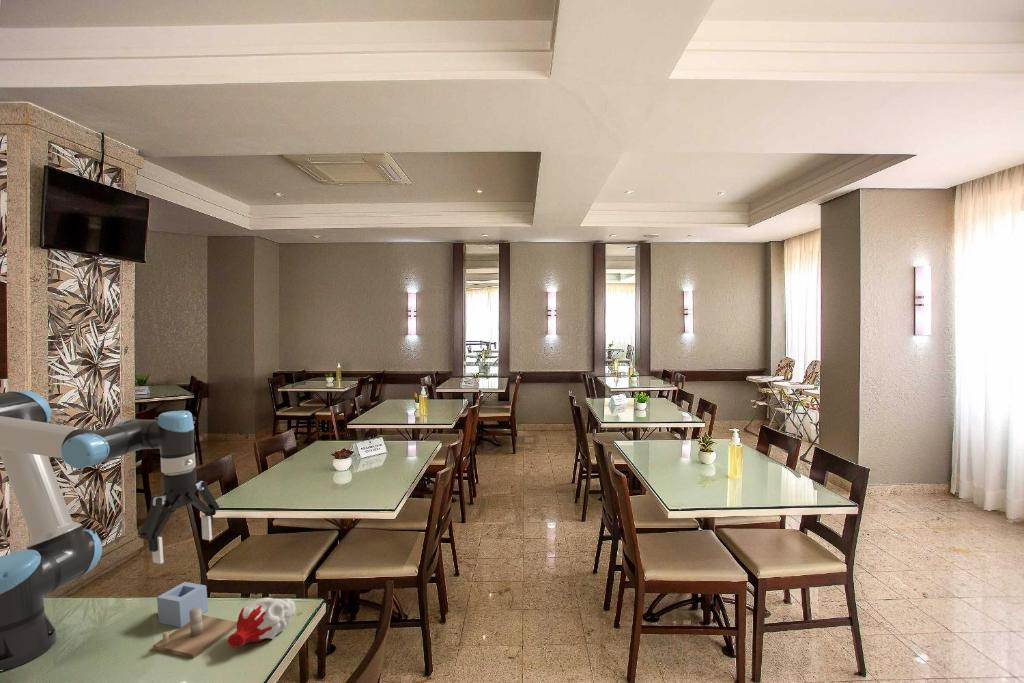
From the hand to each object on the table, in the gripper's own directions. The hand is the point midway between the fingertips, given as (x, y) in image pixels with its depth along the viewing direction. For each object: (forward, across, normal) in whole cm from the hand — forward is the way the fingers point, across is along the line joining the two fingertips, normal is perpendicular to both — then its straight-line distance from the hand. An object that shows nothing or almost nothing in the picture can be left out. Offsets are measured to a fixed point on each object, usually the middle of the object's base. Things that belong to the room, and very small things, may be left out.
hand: (183, 550), depth 133 cm
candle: (+20, +1, -23) cm, 31 cm away
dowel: (+20, -9, -4) cm, 22 cm away
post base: (+20, -4, -8) cm, 22 cm away
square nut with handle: (+20, +2, +6) cm, 21 cm away
